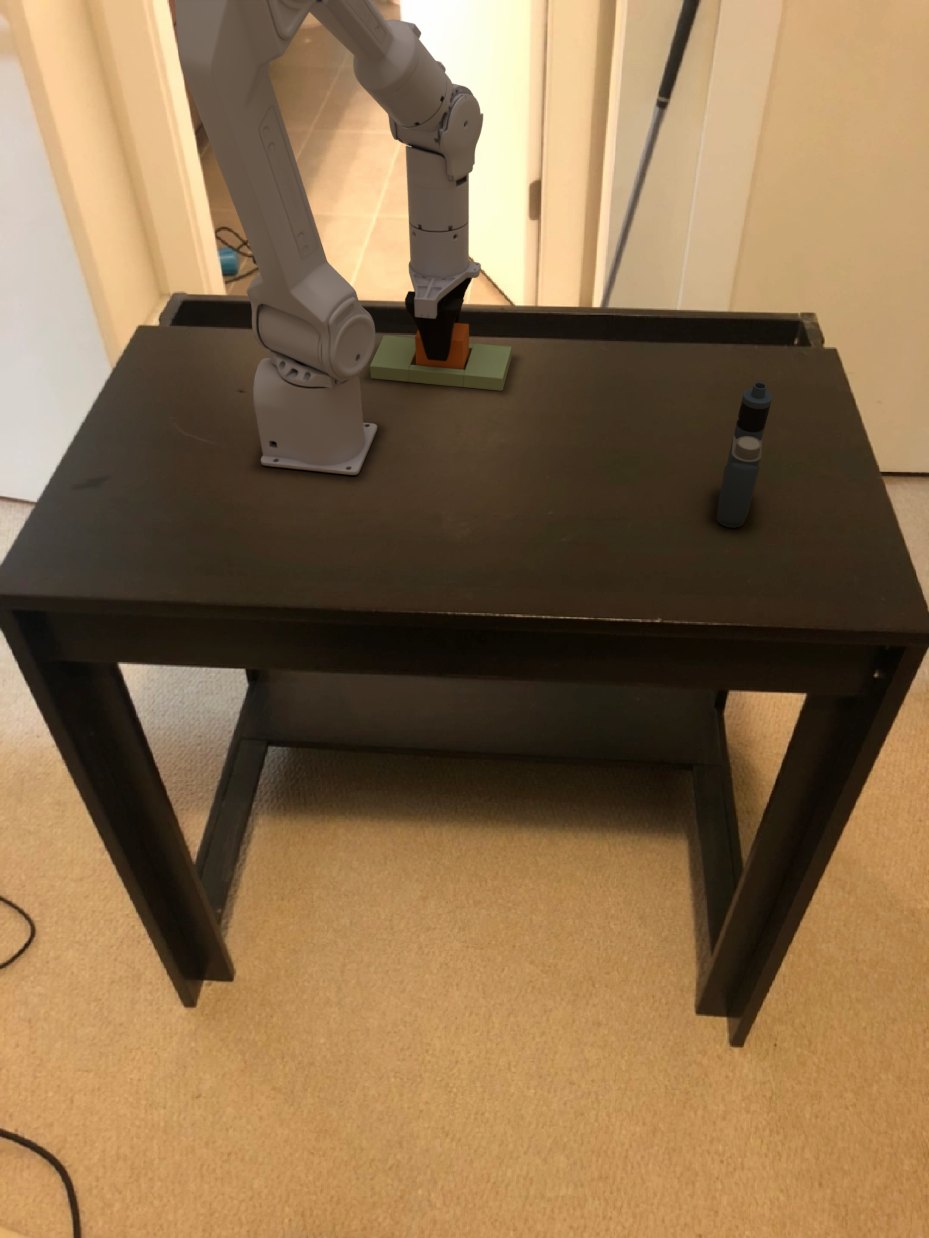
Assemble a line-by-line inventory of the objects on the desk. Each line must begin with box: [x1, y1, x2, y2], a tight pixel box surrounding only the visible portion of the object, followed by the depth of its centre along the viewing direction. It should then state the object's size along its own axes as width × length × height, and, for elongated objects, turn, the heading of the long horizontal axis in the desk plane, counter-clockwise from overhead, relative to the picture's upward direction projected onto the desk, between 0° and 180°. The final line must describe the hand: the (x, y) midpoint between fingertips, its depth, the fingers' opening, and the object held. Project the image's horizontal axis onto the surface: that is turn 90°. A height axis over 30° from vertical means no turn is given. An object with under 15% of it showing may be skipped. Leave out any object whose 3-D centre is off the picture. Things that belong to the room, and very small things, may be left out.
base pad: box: [369, 334, 513, 392], centre depth 104 cm, size 14×6×2 cm, turn 80°
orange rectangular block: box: [414, 322, 470, 370], centre depth 102 cm, size 5×4×4 cm
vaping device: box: [716, 381, 773, 529], centre depth 83 cm, size 3×5×12 cm, turn 166°
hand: (441, 348), depth 103 cm, fingers closed on orange rectangular block, 3 cm apart
